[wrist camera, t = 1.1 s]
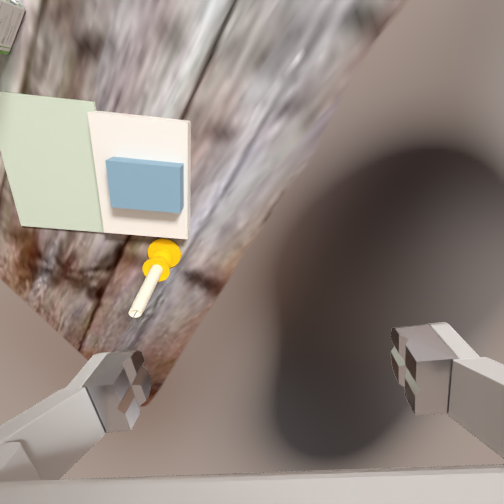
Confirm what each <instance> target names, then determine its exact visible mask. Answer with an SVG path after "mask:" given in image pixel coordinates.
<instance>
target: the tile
mask: <svg viewBox="0 0 504 504" xmlns="http://www.w3.org/2000/svg"><path fill="white" fill-rule="evenodd" d="M105 162H106V171H107V179H108V187H109V195H110V203H111V207H114V208H125V209H137V210H148V211H160V212H171V213H181V211H182V210H183V208H184V163H174V162H164V161H154V160H143V159H133V158H123V157H111V158H109V159H107V160H105Z"/></svg>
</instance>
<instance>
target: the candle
mask: <svg viewBox="0 0 504 504" xmlns="http://www.w3.org/2000/svg"><path fill="white" fill-rule="evenodd" d="M148 257H149V260H147V261H146V262H145V263H144V265H143V273H144V275H145V276H146V278H145V280H144V282H143V284H142V286H141V288H140V290H139V292H138V294H137V296H136V298H135V300H134V302H133V304H132V306H131V308H130V311H129V315H130V316H131V317H133V318H137V317H140V316H141V315H142V313H143V311H144V309H145V308H146V306H147V304H148V302H149V299H150V297H151V295H152V293H153V291H154V289H155V287H156V285H157V282H159V281H163V280H165V279H167V278H168V276H169V274H170V269H169V268H172V267H174V266H175V265H177V264H178V262H179V261H180V258H181V251H180V248H179V247H178V245H177V244H176V243H175V242H173V241H171V240H169V239H162V238H161V239H157V240H155V241H153V242H152V243H151V244H150V246H149V248H148Z"/></svg>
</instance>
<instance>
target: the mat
mask: <svg viewBox="0 0 504 504" xmlns="http://www.w3.org/2000/svg"><path fill="white" fill-rule="evenodd" d="M90 111H96V105H95V102H90V101H81V100H72V99H63V98H54V97H45V96H35V95H26V94H17V93H8V92H0V151H1V154H2V158H3V162H4V165H5V169H6V172H7V176H8V180H9V183H10V187H11V190H12V194H13V198H14V201H15V205H16V209H17V212H18V216H19V219H20V223H21V226H29V227H42V228H54V229H66V230H78V231H91V232H103V233H104V228H103V221H102V214H101V207H100V200H99V193H98V185H97V178H96V171H95V164H94V157H93V150H92V142H91V135H90V128H89V121H88V114H87V112H90Z"/></svg>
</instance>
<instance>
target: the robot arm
mask: <svg viewBox="0 0 504 504" xmlns="http://www.w3.org/2000/svg"><path fill="white" fill-rule="evenodd" d="M391 340H392V342H393V344H394V346H395V347H394V348H393V349H392V351H391V362H392V367H393V371H394V374H395V377H396V379H397V381H398V383H399V384H400V385H402V386H403V387H405V397H406V399H407V401H408V403H409V405H410V407H411V409H412V411H413V412H414V414H415V415H435V414H448V416H449V417H451V418H452V419H453V420H454V421H456V422H457V423H458V424H460V425H461V426H462V427H463V428H465V429H466V430H467V431H468V432H470V433H471V434H472V435H474V436H475V437H476V438H478V439H479V440H480V441H481V442H483V443H484V444H485V445H487V446H488V447H489V448H490V449H492V450H493V451H494V452H496V453H497V454H498V455H500V456H501V457H502V458H503V459H504V365H503V364H501V363H498V362H496V361H494V360H491V359H489V358H487V357H482V358H480V357H479V356H478V354H477V353H476V352H475V351H474V350H473V349H472V348H471V347H470V346H469V345H468V344H467V343H466V342H465V341H464V340H463V339H462V338H461V337H460V336H459V335H458V333H457V332H456V331H455V330H454V329H453V328H452V327H451V326H450V325H449V324H448V323H445V322H440V323H433V324H426V325H418V326H407V327H396V328H392V330H391ZM144 361H145V359H144V357H143V354H142V352H141V351H139V350H133V351H118V352H105V353H97V354H95V355H93V356H92V357H91V358H90V360H89V361H88V362H87V363H86V364H85V366H84V367H83V368H82V369H81V370H80V371H79V373H78V374H77V375H76V376H75V377H74V379H73V380H72V381H71V382H70V383H69V384H68V386H67V387H66V388H65V389H60V390H58V391H56V392H55V393H53V394H52V395H50V396H48V397H47V398H45V399H44V400H42V401H40V402H39V403H37V404H35V405H34V406H32V407H30V408H29V409H27V410H25V411H24V412H22V413H21V414H19V415H17V416H16V417H14V418H12V419H11V420H9V421H7V422H6V423H4V424H3V425H1V426H0V504H504V464H495V465H494V464H493V465H465V466H440V467H439V466H437V467H411V468H380V469H350V470H320V471H290V472H262V473H233V474H206V475H176V476H149V477H119V478H91V479H62V480H59V479H60V478H61V477H62V476H63V475H64V474H65V473H66V472H67V471H68V470H69V469H70V468H71V467H72V466H73V465H74V464H75V463H77V462H78V460H80V459H81V458H82V456H84V455H85V454H86V453H87V452H88V451H89V450H90V449H91V448H92V447H93V446H94V445H95V444H96V443H97V442H98V441H99V440H100V439H101V438H102V437H103V436H104V435H105V433H109V432H120V431H131V430H132V428H133V426H134V424H135V422H136V420H137V418H138V416H139V414H140V409H139V406H140V405H141V404H143V403H144V402H145V401H146V400H147V398H148V396H149V393H150V388H151V377H150V374H149V371H148V370H147V369H146V368H145V367H143V366H142V365H143V363H144Z"/></svg>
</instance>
